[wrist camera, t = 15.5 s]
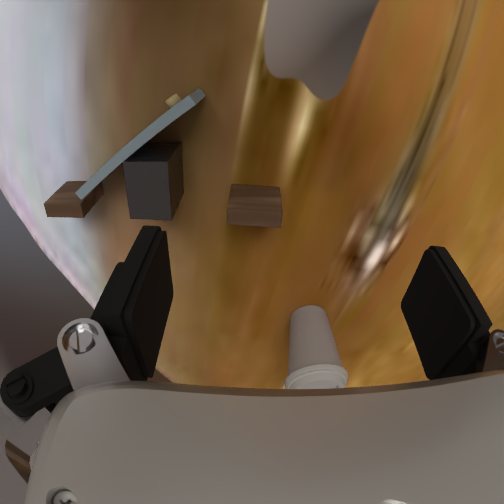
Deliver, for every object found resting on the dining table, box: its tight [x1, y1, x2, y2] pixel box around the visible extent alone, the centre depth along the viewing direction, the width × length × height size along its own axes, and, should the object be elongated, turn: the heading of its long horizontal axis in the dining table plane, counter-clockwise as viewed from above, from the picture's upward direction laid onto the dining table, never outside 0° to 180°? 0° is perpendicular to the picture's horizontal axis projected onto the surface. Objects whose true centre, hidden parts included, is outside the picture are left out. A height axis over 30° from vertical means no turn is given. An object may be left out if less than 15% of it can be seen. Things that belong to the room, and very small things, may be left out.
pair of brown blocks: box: [44, 181, 283, 228], centre depth 37 cm, size 2×30×6 cm, turn 86°
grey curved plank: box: [75, 88, 206, 200], centre depth 32 cm, size 2×18×6 cm, turn 123°
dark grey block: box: [123, 142, 184, 220], centre depth 35 cm, size 7×5×7 cm
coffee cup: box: [285, 305, 348, 389], centre depth 48 cm, size 10×10×15 cm
